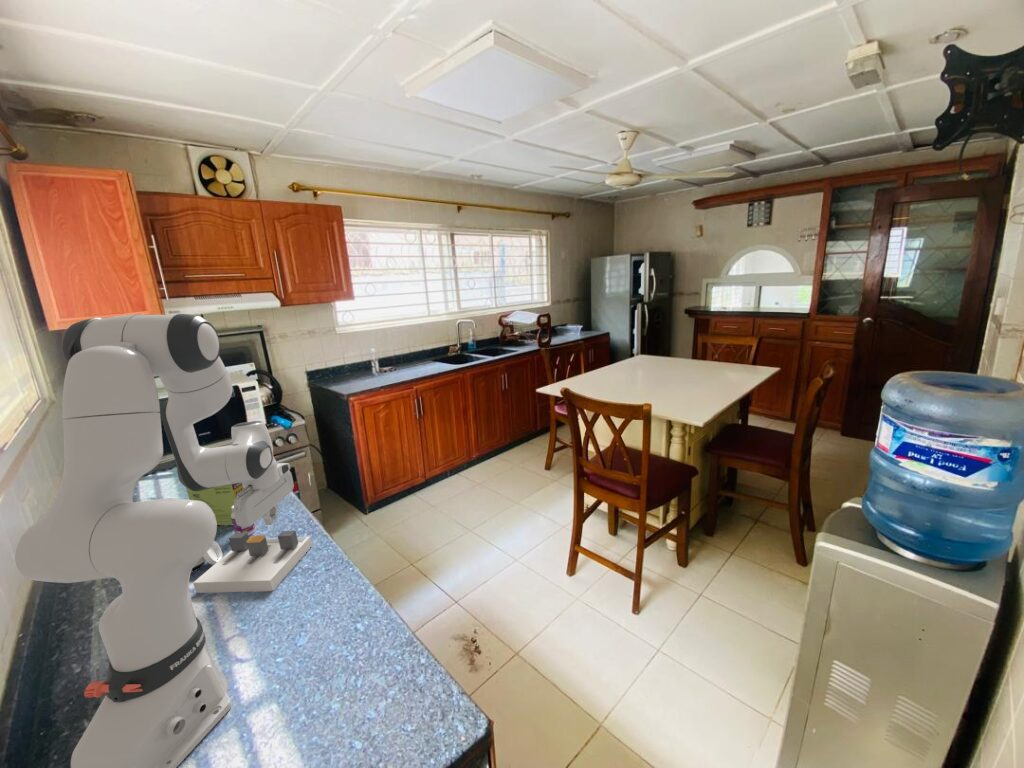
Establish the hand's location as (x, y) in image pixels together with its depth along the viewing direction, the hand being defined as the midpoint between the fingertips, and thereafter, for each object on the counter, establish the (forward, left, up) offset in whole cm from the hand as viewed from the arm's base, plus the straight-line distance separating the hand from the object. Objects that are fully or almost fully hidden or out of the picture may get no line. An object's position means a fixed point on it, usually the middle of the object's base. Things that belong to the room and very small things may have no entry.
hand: (271, 522), depth 115 cm
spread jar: (-6, +19, -9) cm, 22 cm away
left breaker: (-4, +7, -5) cm, 10 cm away
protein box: (+19, +29, -9) cm, 36 cm away
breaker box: (-8, 0, -8) cm, 12 cm away
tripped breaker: (-7, 0, -5) cm, 9 cm away
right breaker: (-4, -7, -5) cm, 10 cm away
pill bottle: (+9, +16, -9) cm, 20 cm away
